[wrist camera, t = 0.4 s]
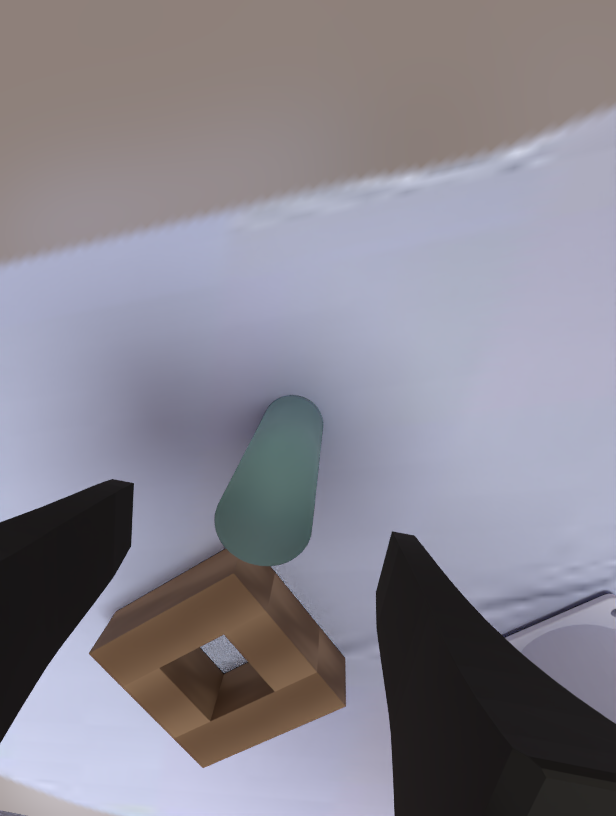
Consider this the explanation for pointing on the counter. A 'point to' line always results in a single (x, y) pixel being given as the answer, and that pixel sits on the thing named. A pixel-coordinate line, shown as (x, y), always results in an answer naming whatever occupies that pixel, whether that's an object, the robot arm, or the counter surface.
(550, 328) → the counter surface
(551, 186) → the counter surface
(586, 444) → the counter surface
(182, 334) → the counter surface
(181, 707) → the hole block
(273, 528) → the peg
